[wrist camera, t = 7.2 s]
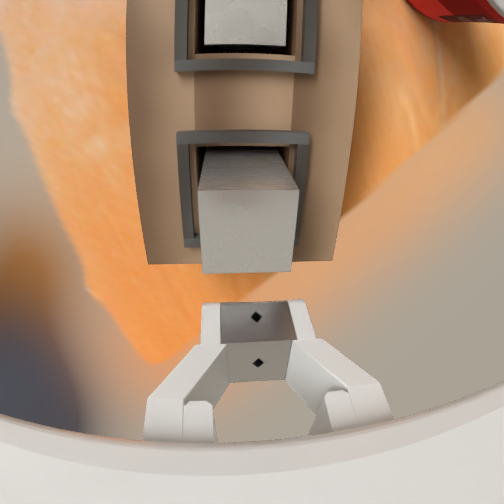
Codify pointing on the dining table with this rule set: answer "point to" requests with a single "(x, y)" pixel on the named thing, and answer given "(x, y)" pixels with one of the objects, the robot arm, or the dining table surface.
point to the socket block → (239, 115)
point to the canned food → (461, 10)
